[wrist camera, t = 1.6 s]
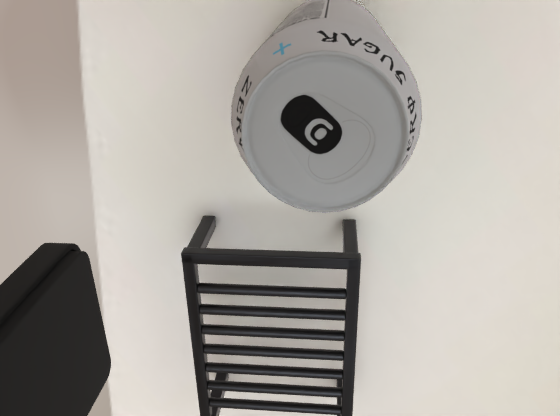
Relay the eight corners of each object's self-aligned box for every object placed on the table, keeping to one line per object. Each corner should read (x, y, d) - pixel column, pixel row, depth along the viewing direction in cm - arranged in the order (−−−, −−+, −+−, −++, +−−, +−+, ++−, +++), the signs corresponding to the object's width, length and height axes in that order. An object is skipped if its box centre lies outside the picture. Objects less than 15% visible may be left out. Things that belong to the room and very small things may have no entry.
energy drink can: (329, 129, 30) (325, 264, 17) (252, 57, 29) (179, 140, 15) (408, 51, 28) (476, 134, 14) (327, -31, 26) (320, -25, 13)
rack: (201, 214, 33) (180, 253, 29) (357, 218, 32) (361, 259, 28) (217, 378, 39) (201, 432, 35) (348, 386, 38) (350, 442, 34)
